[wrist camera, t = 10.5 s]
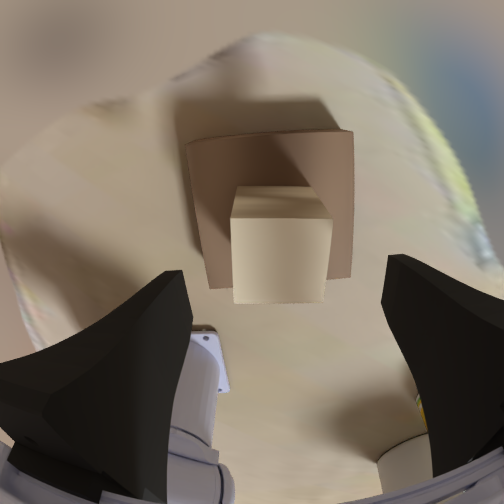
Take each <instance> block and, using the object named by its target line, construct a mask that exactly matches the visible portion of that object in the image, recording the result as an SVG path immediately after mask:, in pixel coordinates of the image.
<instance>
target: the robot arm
mask: <svg viewBox="0 0 504 504" xmlns="http://www.w3.org/2000/svg"><path fill="white" fill-rule="evenodd" d="M381 305H382V308H383V311H384V314H385V317H386V320H387V322H388V325H389V327H390V329H391V331H392V333H393V335H394V337H395V339H396V342H397V344H398V346H399V348H400V350H401V352H402V354H403V356H404V358H405V360H406V362H407V364H408V366H409V368H410V370H411V373H412V375H413V378H414V380H415V383H416V386H417V390H418V393H419V396H420V400H421V403H422V407H423V412H424V416H425V420H426V425H427V430H428V436H429V442H430V449H431V459H432V473H433V478H432V479H429V480H427V481H424V482H421V483H418V484H415V485H412V486H409V487H406V488H403V489H399V490H396V491H392V492H389V493H385V494H381V495H377V496H373V497H369V498H365V499H360V500H355V501H350V502H345V503H339V504H436V503H438V502H441V501H443V500H445V499H448V498H450V497H452V496H454V495H457V494H459V493H461V492H463V491H465V490H466V491H465V492H464V493H462V494H460V495H458V496H457V497H455V498H453V499H451V500H449V501H447V502H445V503H443V504H504V300H501V299H499V298H496V297H493V296H491V295H488V294H486V293H483V292H481V291H479V290H476V289H474V288H472V287H470V286H468V285H466V284H464V283H462V282H459V281H457V280H455V279H454V278H452V277H450V276H448V275H446V274H444V273H442V272H440V271H438V270H436V269H434V268H432V267H431V266H429V265H427V264H425V263H423V262H421V261H419V260H417V259H415V258H412V257H410V256H408V255H405V254H396V255H388V261H387V268H386V275H385V281H384V287H383V293H382V299H381ZM192 322H193V314H192V310H191V306H190V302H189V298H188V294H187V289H186V285H185V281H184V276H183V272H182V270H173V271H165V272H163V273H162V274H160V275H159V276H157V277H156V278H155V279H153V280H152V281H151V282H150V283H148V284H147V285H146V286H145V287H143V288H142V289H141V290H140V291H138V292H137V293H136V294H135V295H133V296H132V297H131V298H130V299H128V300H127V301H126V302H124V303H123V304H121V305H120V306H119V307H117V308H116V309H115V310H113V311H112V312H111V313H109V314H108V315H106V316H105V317H103V318H102V319H100V320H99V321H97V322H96V323H94V324H92V325H91V326H89V327H88V328H86V329H84V330H82V331H81V332H79V333H77V334H75V335H73V336H71V337H69V338H67V339H65V340H63V341H61V342H59V343H57V344H55V345H53V346H50V347H48V348H46V349H43V350H41V351H38V352H35V353H33V354H30V355H27V356H24V357H21V358H17V359H14V360H10V361H7V362H3V363H0V427H1V428H2V429H3V430H4V431H5V432H6V433H7V434H8V435H9V436H10V437H11V438H12V439H13V440H14V441H15V443H14V445H13V447H12V448H10V447H9V446H8V445H6V444H5V443H3V442H1V441H0V504H234V501H235V485H234V480H233V478H232V476H231V474H230V471H229V470H228V468H227V467H226V466H225V465H224V464H221V463H218V459H219V451H218V450H215V449H212V439H213V430H214V421H215V412H216V404H217V395H218V393H227V392H229V391H230V385H229V381H228V376H227V372H226V367H225V363H224V358H223V354H222V349H221V344H220V340H219V335H218V333H217V332H215V331H191V330H192ZM204 336H208V337H204Z"/></svg>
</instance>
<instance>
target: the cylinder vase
mask: <svg viewBox="0 0 504 504" xmlns="http://www.w3.org/2000/svg"><path fill="white" fill-rule="evenodd" d="M377 468H378V472H379V477H380V481H381V486H382V490H383V494H385V493H389V492H392V491H396V490H399V489H403V488H406V487H409V486H412V485H415V484H418V483H421V482H424V481H427V480H429V479H432V478H433V473H432V459H431V449H430V442H429V436H428V434H425V435H421V436H418V437H415V438H413V439H410V440H408V441H406V442H403V443H401V444H399V445H398V446H396V447H394V448H392V449H391V450H389V451H388V452H386V453H385V454H384V455H383V456H382V457H381V458H380V459H379V461H378V463H377ZM462 493H463V492H461V493H459V494H457V495H454V496H452V497H450V498H448V499H445V500H443V501H441V502H438V503H436V504H443V503H445V502H447V501H449V500H451V499H453V498H455V497H457V496H458V495H460V494H462Z"/></svg>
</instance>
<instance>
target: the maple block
mask: <svg viewBox="0 0 504 504" xmlns="http://www.w3.org/2000/svg"><path fill="white" fill-rule="evenodd" d="M230 223H231V250H232V273H233V295H234V304H285V303H323V298H324V292H325V285H326V278H327V270H328V262H329V254H330V246H331V237H332V228H333V218H332V216H331V215H330V213H329V212H328V210H327V209H326V207H325V206H324V204H323V203H322V201H321V200H320V199H319V197H318V196H317V194H316V193H315V191H314V190H313V189H312V187H299V186H237V190H236V195H235V199H234V204H233V208H232V213H231V218H230Z"/></svg>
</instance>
